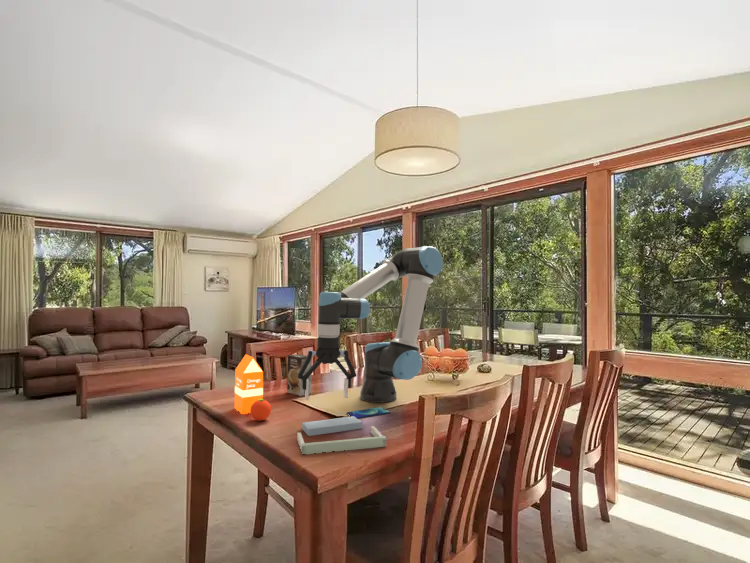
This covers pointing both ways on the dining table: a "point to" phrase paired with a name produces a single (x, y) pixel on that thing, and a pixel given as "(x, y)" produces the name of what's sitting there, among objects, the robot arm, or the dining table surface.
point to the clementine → (260, 410)
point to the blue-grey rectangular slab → (331, 425)
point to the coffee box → (293, 369)
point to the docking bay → (343, 443)
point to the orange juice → (248, 384)
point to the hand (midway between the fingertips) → (326, 398)
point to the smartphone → (369, 412)
